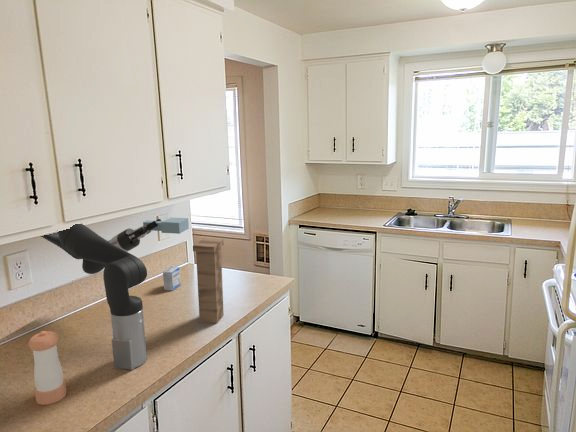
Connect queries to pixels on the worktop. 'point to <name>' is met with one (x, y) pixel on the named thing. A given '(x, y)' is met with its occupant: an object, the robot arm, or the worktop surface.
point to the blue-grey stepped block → (170, 225)
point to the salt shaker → (47, 368)
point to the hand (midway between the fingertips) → (158, 222)
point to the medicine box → (171, 278)
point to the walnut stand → (209, 279)
